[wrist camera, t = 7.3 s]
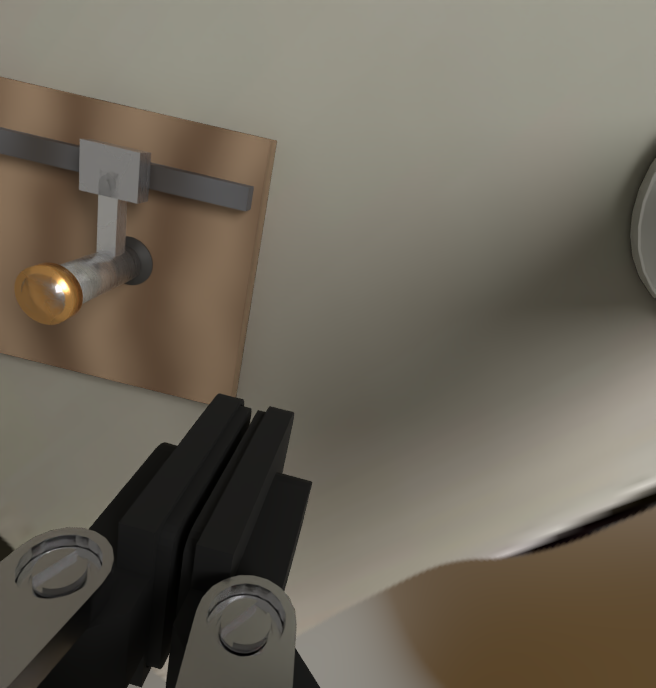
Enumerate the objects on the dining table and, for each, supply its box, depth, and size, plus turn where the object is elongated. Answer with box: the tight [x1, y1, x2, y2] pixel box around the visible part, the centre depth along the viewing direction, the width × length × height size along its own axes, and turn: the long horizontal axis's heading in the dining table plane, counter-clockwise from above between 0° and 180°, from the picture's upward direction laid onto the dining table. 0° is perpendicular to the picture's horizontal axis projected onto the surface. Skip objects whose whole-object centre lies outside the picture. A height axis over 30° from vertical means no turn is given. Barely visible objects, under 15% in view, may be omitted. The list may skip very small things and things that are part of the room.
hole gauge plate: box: [0, 77, 277, 404], centre depth 25 cm, size 22×16×9 cm
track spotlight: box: [14, 139, 151, 325], centre depth 23 cm, size 3×8×7 cm, turn 168°
